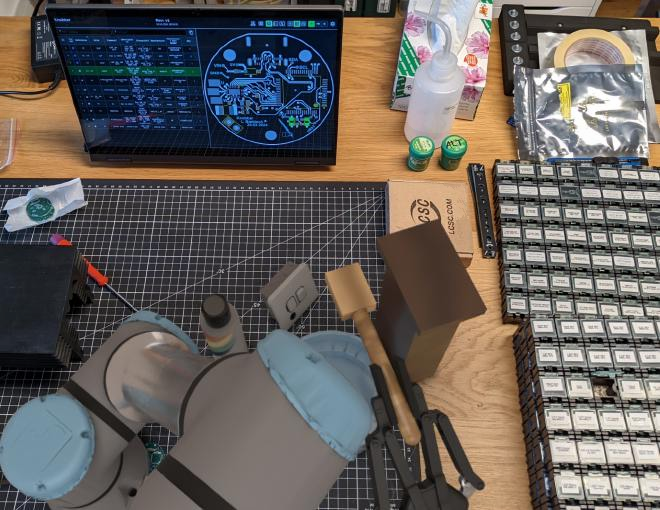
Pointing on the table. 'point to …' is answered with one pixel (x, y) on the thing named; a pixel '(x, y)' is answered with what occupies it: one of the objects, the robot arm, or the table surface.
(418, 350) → the stand
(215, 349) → the lotion bottle
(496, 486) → the table surface
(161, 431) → the table surface
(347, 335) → the bowl
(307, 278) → the electrical switch
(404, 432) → the wooden mallet
